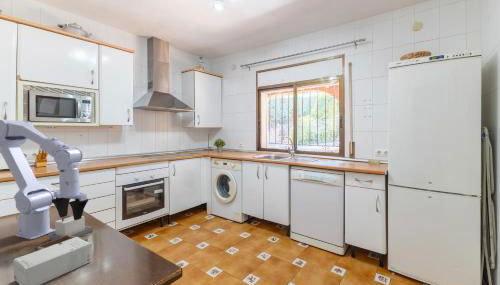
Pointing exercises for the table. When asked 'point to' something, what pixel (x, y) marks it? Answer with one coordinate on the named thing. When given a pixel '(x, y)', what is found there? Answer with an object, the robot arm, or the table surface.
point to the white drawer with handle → (69, 225)
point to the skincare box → (51, 261)
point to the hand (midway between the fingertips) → (70, 217)
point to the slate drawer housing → (78, 234)
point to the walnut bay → (56, 242)
